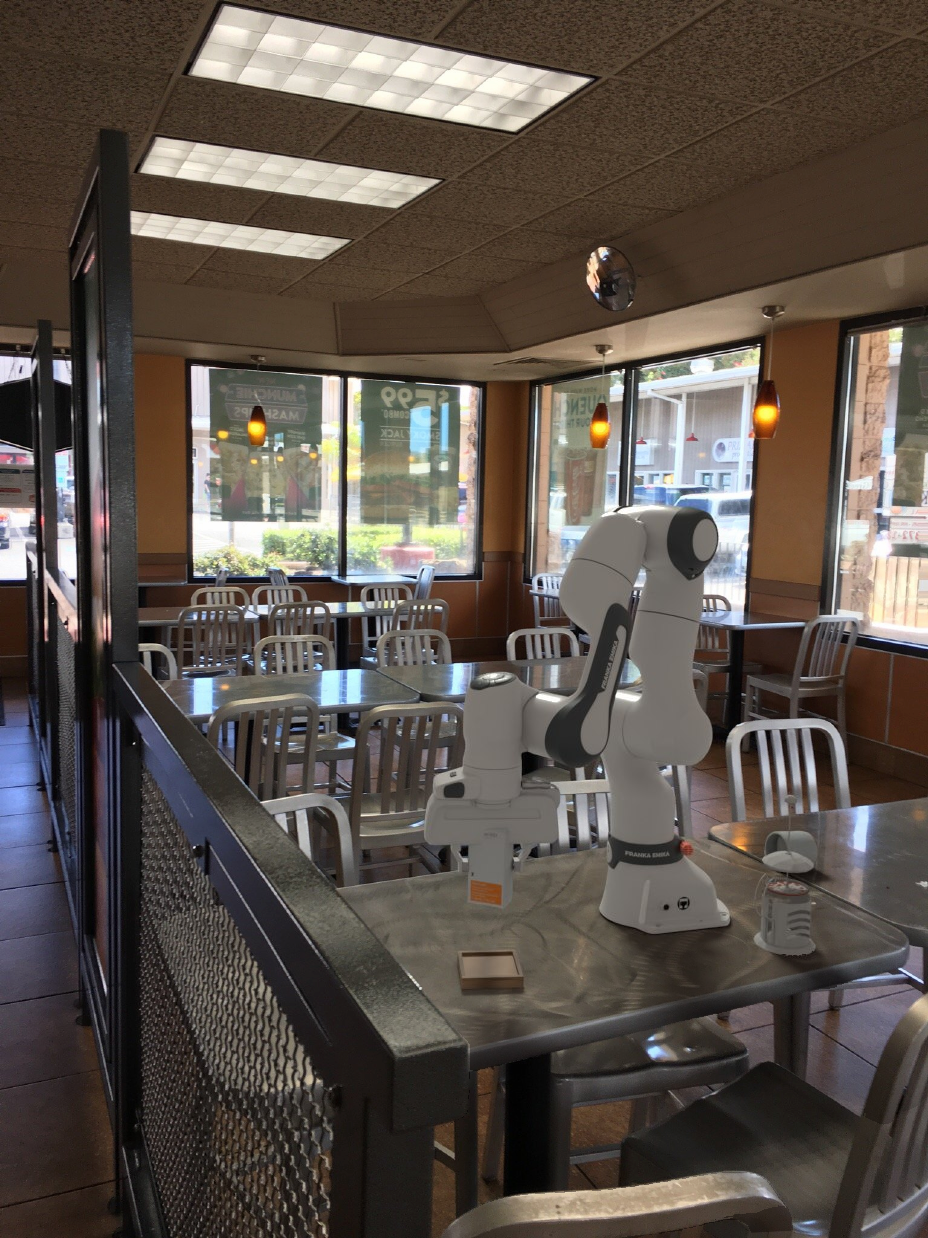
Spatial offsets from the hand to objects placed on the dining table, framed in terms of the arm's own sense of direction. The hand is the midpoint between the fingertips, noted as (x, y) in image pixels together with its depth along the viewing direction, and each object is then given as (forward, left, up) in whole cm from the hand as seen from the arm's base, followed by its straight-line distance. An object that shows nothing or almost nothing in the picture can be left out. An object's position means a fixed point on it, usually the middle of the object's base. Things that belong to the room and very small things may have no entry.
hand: (490, 871), depth 150 cm
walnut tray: (0, 0, -16) cm, 16 cm away
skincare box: (0, 0, -5) cm, 5 cm away
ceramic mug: (-65, -44, -17) cm, 80 cm away
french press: (-49, -8, -17) cm, 52 cm away
